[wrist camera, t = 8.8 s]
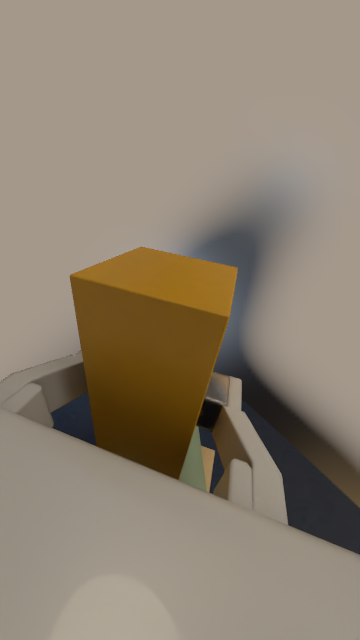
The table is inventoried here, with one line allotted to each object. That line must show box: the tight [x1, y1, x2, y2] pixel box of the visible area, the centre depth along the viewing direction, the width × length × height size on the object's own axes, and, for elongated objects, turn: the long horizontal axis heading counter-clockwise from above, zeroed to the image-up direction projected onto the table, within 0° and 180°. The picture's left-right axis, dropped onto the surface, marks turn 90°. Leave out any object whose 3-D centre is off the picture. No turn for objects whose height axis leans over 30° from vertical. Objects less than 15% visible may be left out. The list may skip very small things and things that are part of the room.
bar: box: [70, 247, 238, 480], centre depth 9 cm, size 4×4×11 cm
